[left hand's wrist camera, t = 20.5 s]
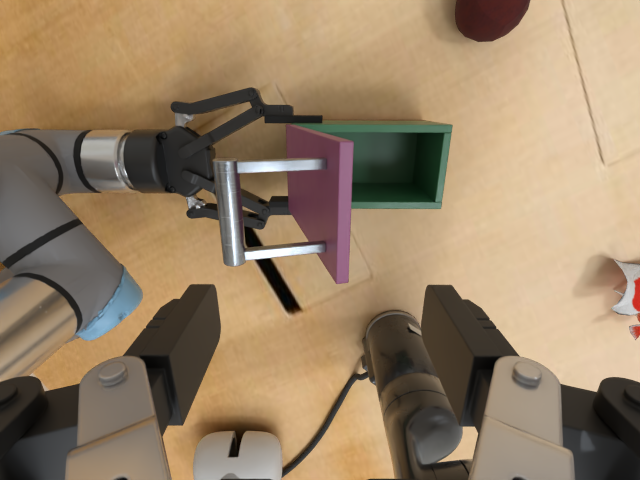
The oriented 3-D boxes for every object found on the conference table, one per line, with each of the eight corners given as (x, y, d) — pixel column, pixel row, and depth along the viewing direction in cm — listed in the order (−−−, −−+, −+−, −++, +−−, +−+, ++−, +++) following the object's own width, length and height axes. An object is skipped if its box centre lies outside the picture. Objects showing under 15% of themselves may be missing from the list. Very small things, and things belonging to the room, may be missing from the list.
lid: (354, 141, 20) (208, 144, 18) (348, 283, 23) (225, 299, 21) (294, 124, 36) (214, 125, 34) (296, 209, 39) (223, 214, 37)
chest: (423, 120, 46) (452, 124, 36) (416, 187, 50) (441, 209, 39) (297, 119, 46) (290, 124, 36) (298, 186, 50) (292, 208, 39)
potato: (475, -41, 40) (506, -69, 33) (522, 4, 41) (560, -15, 35) (433, 20, 42) (454, 5, 35) (479, 60, 44) (507, 52, 37)
